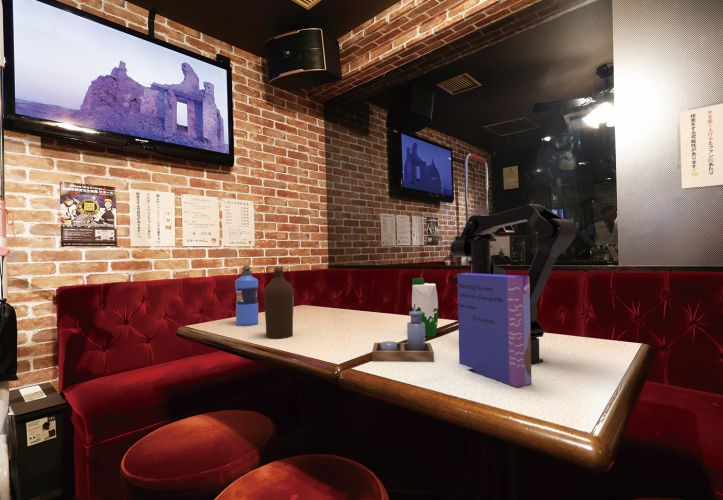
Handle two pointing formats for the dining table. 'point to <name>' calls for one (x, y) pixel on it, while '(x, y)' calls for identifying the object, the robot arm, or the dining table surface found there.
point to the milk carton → (426, 304)
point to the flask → (416, 332)
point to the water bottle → (246, 299)
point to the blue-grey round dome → (388, 346)
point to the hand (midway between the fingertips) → (481, 308)
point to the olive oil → (279, 306)
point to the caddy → (403, 354)
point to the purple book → (495, 327)
